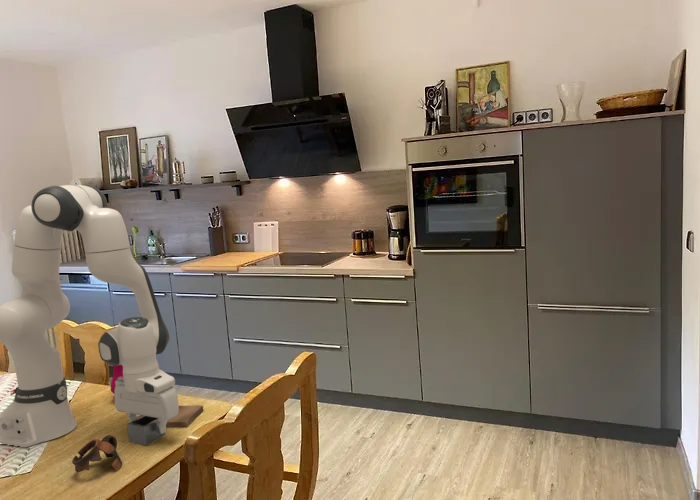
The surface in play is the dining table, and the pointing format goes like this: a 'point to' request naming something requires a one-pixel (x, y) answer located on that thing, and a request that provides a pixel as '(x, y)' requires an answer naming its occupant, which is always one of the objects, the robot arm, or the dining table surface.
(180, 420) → the post stand
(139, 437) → the grey open box
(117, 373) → the pepper mill
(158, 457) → the dining table surface
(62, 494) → the dining table surface
